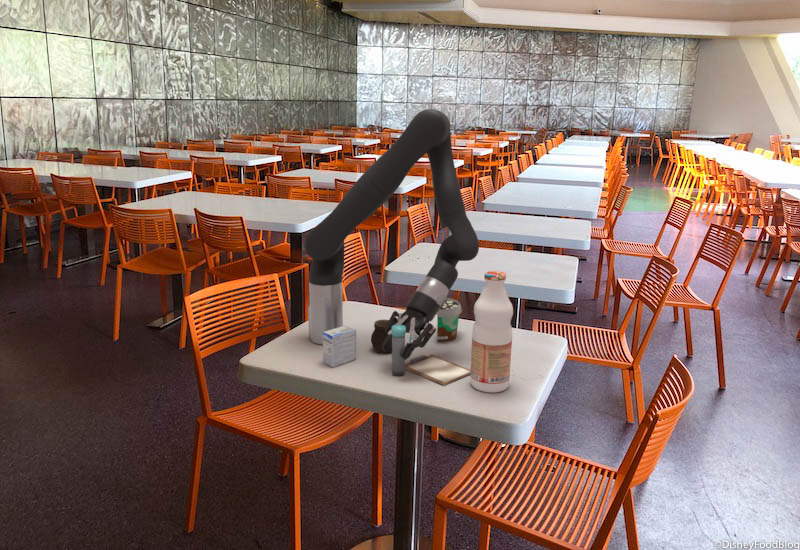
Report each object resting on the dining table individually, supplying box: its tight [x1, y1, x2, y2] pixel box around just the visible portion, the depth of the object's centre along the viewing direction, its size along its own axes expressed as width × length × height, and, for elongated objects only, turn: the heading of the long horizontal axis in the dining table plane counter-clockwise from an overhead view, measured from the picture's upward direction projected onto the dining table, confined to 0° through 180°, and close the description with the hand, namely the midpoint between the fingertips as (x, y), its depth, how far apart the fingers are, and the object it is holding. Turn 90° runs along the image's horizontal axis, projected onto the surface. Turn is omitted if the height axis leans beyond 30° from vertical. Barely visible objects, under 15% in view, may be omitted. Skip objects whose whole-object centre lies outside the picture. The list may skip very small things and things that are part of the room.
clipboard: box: [405, 354, 471, 387], centre depth 162 cm, size 15×12×1 cm
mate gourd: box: [370, 319, 392, 354], centre depth 174 cm, size 7×8×10 cm
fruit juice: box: [469, 270, 514, 394], centre depth 151 cm, size 9×9×28 cm
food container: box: [436, 297, 463, 343], centre depth 184 cm, size 12×6×10 cm, turn 168°
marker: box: [391, 325, 406, 378], centre depth 158 cm, size 3×3×12 cm
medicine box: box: [322, 325, 357, 368], centre depth 166 cm, size 8×4×9 cm, turn 135°
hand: (393, 353), depth 157 cm, fingers open, 6 cm apart
